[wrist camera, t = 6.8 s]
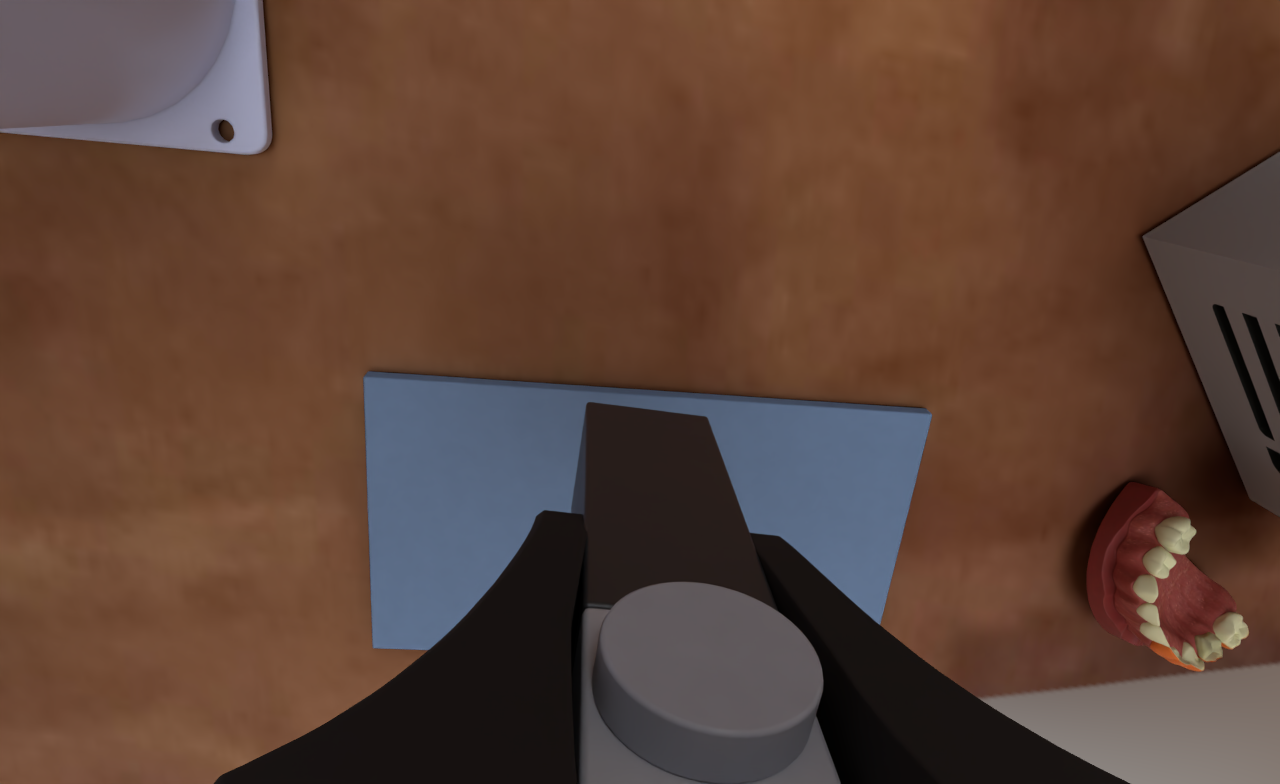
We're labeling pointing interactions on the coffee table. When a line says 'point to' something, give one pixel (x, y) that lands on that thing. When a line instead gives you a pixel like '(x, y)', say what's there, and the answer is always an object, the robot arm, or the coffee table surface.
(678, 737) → the grey toy brick
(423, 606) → the rubber mat
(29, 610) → the coffee table surface
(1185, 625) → the dentures
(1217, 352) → the icon cube
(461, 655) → the robot arm
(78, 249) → the coffee table surface
